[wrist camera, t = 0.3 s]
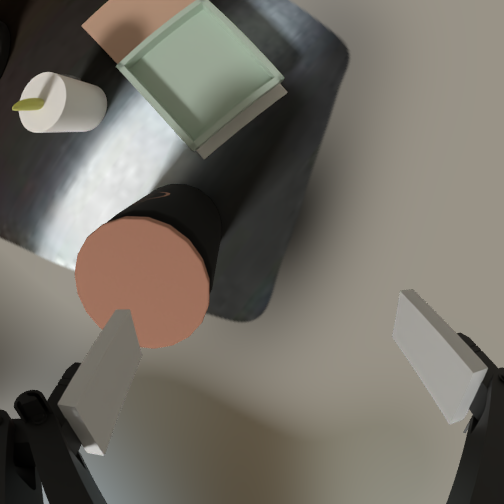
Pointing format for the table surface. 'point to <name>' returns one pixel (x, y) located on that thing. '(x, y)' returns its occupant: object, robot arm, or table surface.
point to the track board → (143, 25)
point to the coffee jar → (153, 264)
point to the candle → (60, 104)
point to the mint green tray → (199, 72)
